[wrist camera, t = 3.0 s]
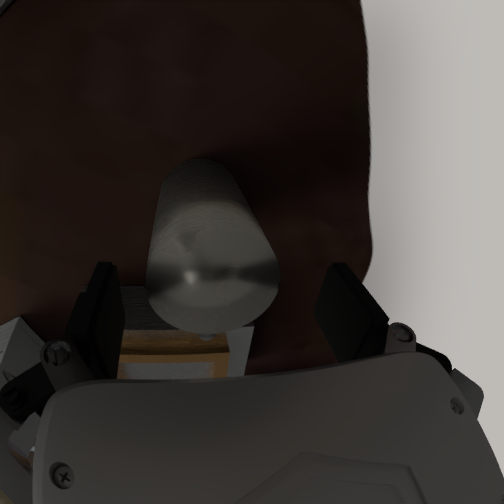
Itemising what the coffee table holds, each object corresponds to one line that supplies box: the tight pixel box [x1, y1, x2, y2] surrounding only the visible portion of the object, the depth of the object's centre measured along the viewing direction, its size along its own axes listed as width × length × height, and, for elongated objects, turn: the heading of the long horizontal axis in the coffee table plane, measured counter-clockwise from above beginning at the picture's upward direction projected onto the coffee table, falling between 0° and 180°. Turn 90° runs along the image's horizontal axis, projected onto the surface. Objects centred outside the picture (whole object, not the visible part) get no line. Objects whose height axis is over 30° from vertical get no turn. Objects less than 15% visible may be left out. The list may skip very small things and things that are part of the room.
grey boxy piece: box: [82, 285, 254, 379], centre depth 23 cm, size 12×14×6 cm
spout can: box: [145, 158, 281, 341], centre depth 16 cm, size 8×6×10 cm
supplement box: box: [0, 316, 45, 451], centre depth 17 cm, size 7×7×13 cm
